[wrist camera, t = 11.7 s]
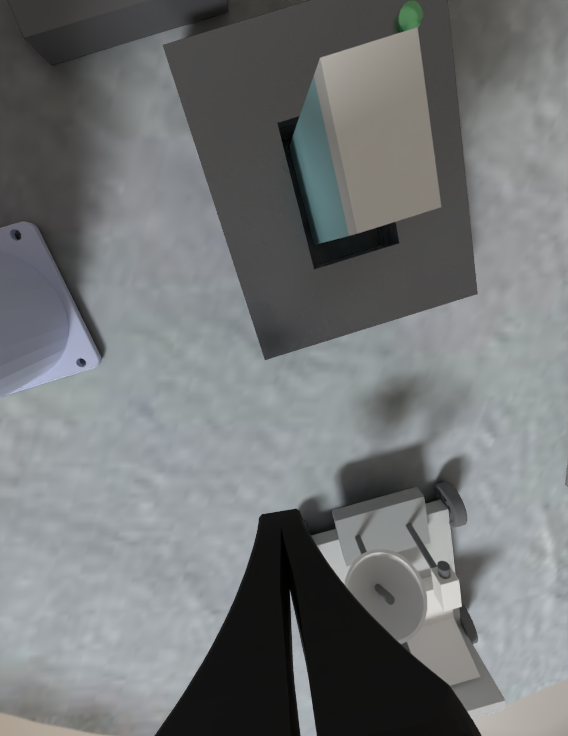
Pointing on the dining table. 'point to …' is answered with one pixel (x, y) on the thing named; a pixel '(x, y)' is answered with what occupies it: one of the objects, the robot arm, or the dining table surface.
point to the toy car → (413, 583)
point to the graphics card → (567, 477)
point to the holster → (102, 22)
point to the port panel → (273, 181)
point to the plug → (366, 140)
